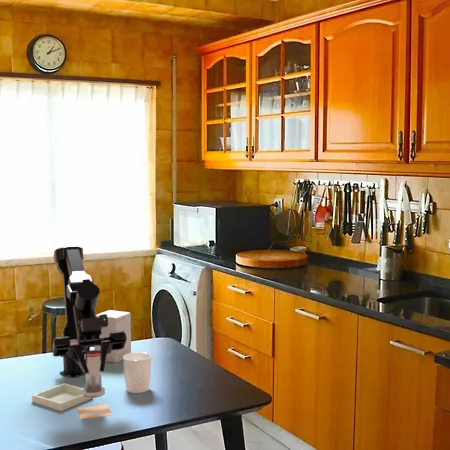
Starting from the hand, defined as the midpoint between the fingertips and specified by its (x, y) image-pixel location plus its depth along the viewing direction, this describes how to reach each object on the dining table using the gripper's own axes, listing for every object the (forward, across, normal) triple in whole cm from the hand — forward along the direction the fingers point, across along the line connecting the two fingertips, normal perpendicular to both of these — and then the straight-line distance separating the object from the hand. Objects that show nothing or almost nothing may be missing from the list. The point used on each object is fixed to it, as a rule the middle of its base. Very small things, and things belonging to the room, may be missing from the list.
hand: (94, 372), depth 168 cm
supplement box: (-24, +14, +41) cm, 50 cm away
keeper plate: (+7, 0, +9) cm, 11 cm away
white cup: (-1, +15, +18) cm, 23 cm away
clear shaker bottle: (+3, 0, +5) cm, 6 cm away
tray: (-1, -6, +17) cm, 18 cm away
